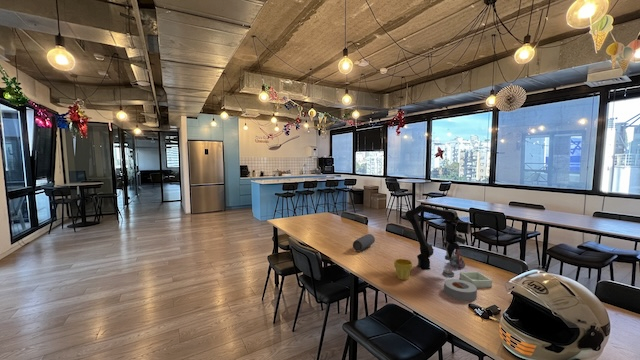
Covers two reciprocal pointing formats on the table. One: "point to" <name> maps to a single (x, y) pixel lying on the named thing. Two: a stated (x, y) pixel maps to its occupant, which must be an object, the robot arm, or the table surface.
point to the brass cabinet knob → (449, 257)
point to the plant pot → (403, 268)
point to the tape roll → (460, 290)
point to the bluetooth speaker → (363, 242)
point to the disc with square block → (448, 273)
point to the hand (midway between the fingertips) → (449, 255)
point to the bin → (476, 279)
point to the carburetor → (457, 261)
